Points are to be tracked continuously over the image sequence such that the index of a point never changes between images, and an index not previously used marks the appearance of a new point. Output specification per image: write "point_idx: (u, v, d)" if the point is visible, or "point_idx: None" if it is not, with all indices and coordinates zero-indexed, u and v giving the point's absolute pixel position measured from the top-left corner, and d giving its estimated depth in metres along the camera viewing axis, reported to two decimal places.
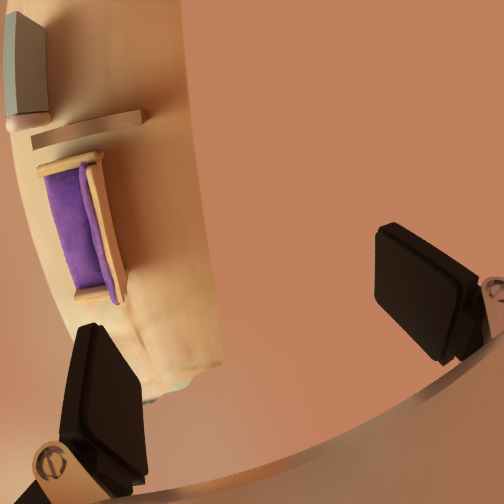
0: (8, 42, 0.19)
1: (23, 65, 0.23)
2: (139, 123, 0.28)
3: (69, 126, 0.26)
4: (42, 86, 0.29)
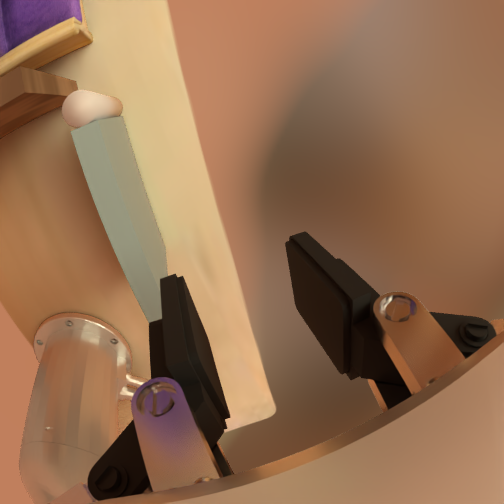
0: (139, 272, 0.18)
1: None
2: None
3: None
4: None
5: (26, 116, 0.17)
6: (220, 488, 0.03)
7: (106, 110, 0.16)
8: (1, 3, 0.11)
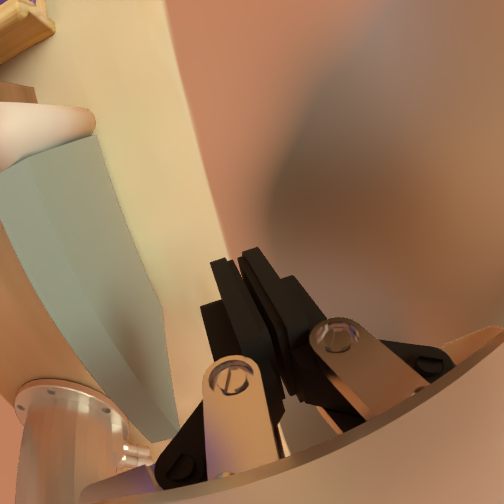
0: (128, 393, 0.10)
1: None
2: None
3: None
4: None
5: None
6: (220, 488, 0.03)
7: (55, 133, 0.09)
8: None
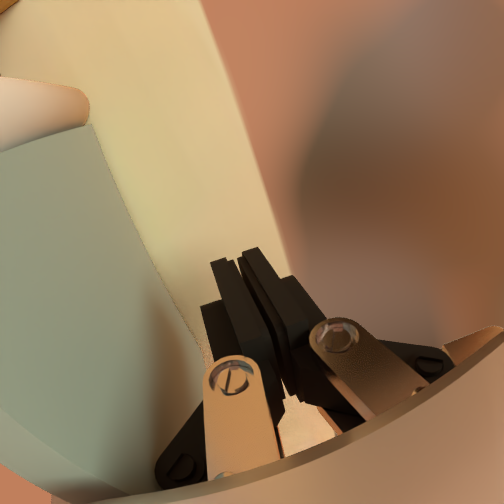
0: None
1: None
2: None
3: None
4: None
5: None
6: (220, 488, 0.03)
7: None
8: None
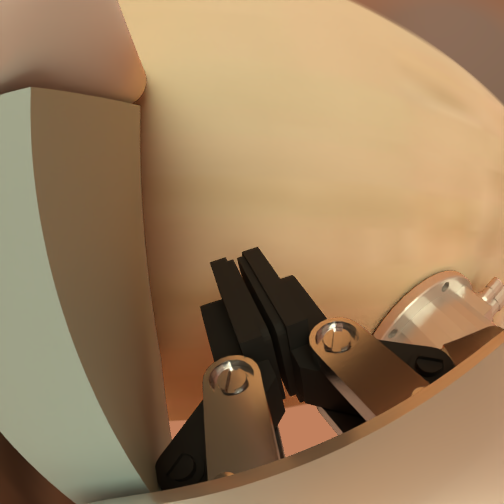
0: None
1: None
2: None
3: None
4: None
5: None
6: (220, 488, 0.03)
7: (115, 67, 0.04)
8: None
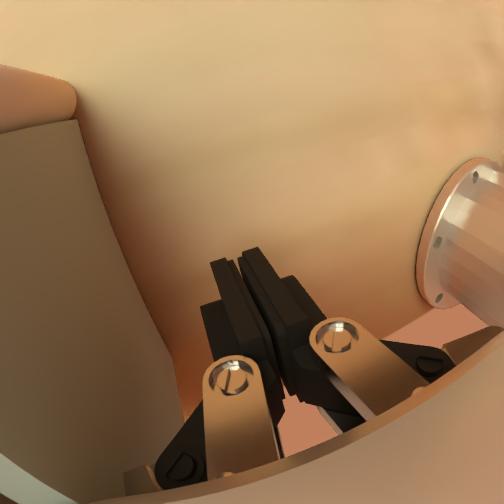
0: None
1: None
2: None
3: None
4: None
5: None
6: (220, 488, 0.03)
7: None
8: None
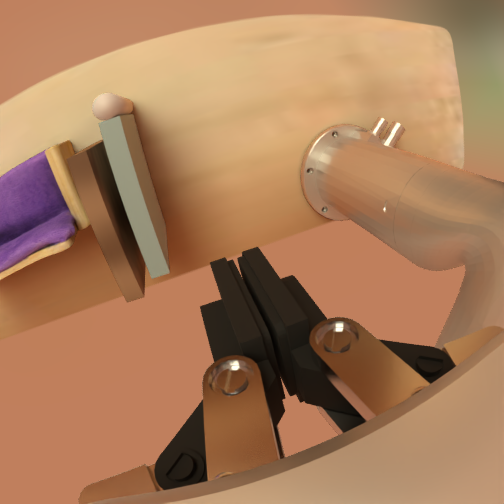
0: (145, 232, 0.23)
1: None
2: (127, 299, 0.24)
3: (105, 212, 0.21)
4: None
5: None
6: (220, 488, 0.03)
7: (123, 108, 0.21)
8: (29, 229, 0.26)
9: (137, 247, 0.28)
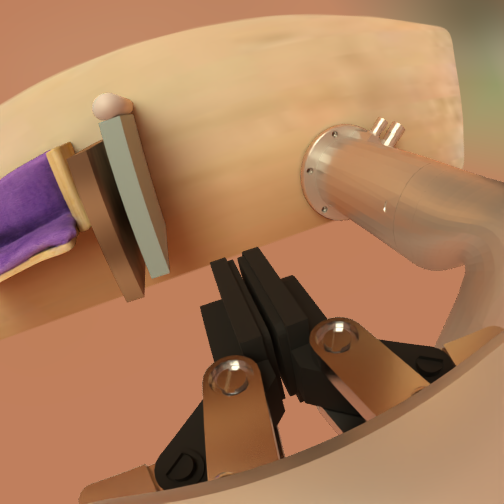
0: (145, 232, 0.23)
1: None
2: (127, 299, 0.24)
3: (105, 212, 0.21)
4: None
5: None
6: (220, 488, 0.03)
7: (123, 108, 0.21)
8: (30, 231, 0.26)
9: (137, 247, 0.28)
